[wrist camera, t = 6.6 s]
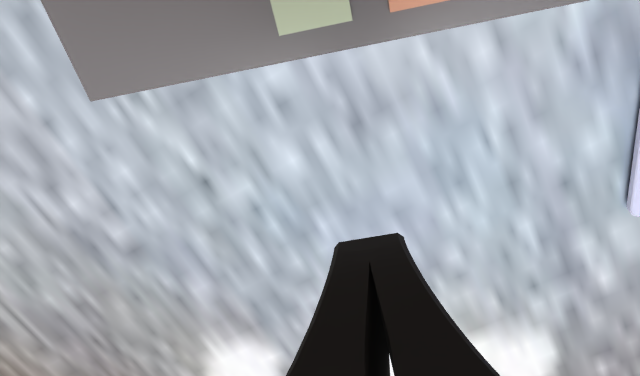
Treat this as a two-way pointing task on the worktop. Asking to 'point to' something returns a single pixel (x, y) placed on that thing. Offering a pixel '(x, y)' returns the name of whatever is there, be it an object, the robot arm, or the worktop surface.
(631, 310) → the worktop surface
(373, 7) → the keypad
